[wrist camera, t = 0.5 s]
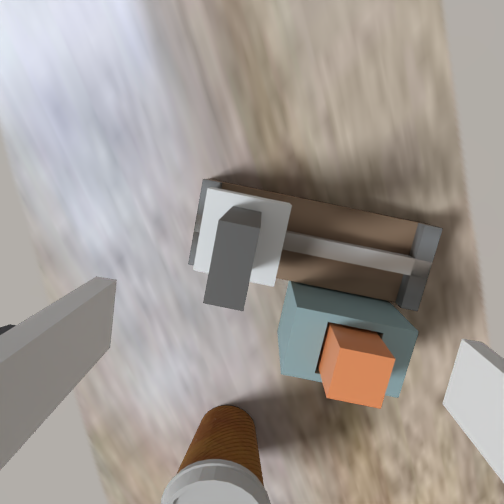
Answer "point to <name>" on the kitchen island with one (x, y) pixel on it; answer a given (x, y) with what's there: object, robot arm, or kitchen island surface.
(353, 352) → the button
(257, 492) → the disposable coffee cup
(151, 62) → the kitchen island surface
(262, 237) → the carriage
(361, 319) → the cabinet
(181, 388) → the kitchen island surface
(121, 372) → the kitchen island surface
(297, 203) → the rail board
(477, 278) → the kitchen island surface
